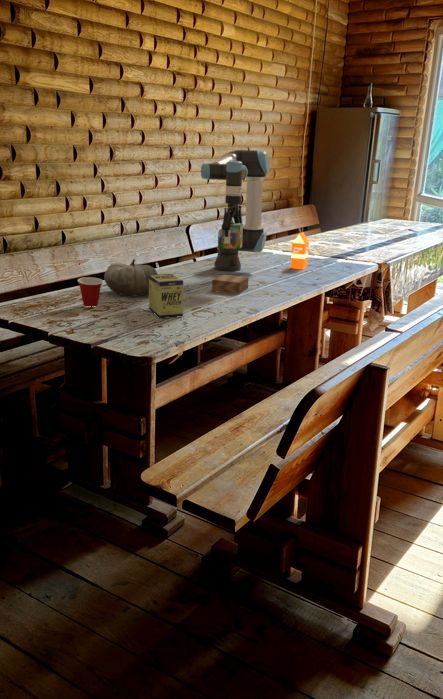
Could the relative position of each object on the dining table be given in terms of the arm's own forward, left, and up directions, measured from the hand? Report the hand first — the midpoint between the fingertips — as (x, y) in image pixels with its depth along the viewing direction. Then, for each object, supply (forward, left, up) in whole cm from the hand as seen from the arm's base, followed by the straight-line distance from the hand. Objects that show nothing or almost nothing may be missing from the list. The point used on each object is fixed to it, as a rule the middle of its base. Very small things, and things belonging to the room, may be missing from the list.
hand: (231, 242), depth 327 cm
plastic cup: (-37, -63, -24) cm, 77 cm away
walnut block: (0, 0, -24) cm, 24 cm away
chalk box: (0, 0, -3) cm, 3 cm away
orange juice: (+9, +73, -24) cm, 77 cm away
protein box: (-4, -55, -24) cm, 60 cm away
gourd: (-36, -34, -24) cm, 55 cm away
